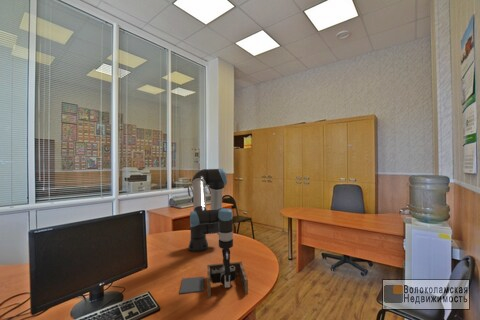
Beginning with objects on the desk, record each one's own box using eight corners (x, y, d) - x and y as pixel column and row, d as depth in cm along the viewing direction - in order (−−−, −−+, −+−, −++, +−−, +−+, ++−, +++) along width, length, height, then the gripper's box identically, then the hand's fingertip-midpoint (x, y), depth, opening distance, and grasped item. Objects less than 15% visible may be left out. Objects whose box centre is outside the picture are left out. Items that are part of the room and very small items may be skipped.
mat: (182, 279, 123) (182, 278, 123) (204, 277, 124) (204, 276, 124) (179, 294, 109) (179, 292, 109) (203, 291, 111) (203, 290, 111)
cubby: (207, 277, 125) (207, 264, 125) (241, 273, 128) (241, 261, 128) (207, 298, 105) (207, 283, 105) (248, 293, 108) (247, 279, 108)
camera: (212, 289, 108) (213, 271, 108) (210, 280, 116) (211, 264, 116) (237, 287, 112) (238, 269, 112) (234, 278, 119) (235, 262, 119)
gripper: (217, 233, 124) (218, 272, 124) (219, 247, 103) (220, 295, 103) (230, 232, 125) (231, 271, 125) (235, 246, 104) (236, 293, 104)
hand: (226, 282), depth 114 cm, fingers closed on camera, 8 cm apart
